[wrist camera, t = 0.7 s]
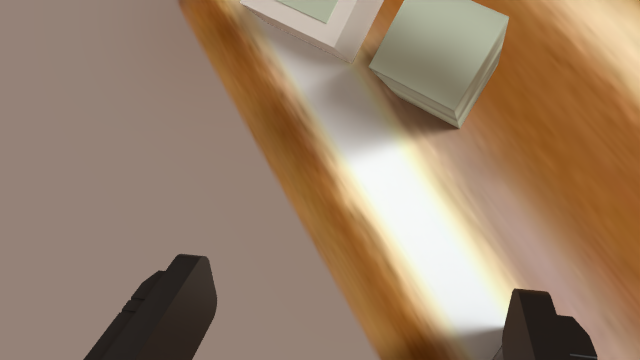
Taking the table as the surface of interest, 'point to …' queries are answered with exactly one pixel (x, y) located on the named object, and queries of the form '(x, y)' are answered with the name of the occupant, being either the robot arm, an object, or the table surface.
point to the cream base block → (321, 21)
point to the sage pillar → (441, 55)
